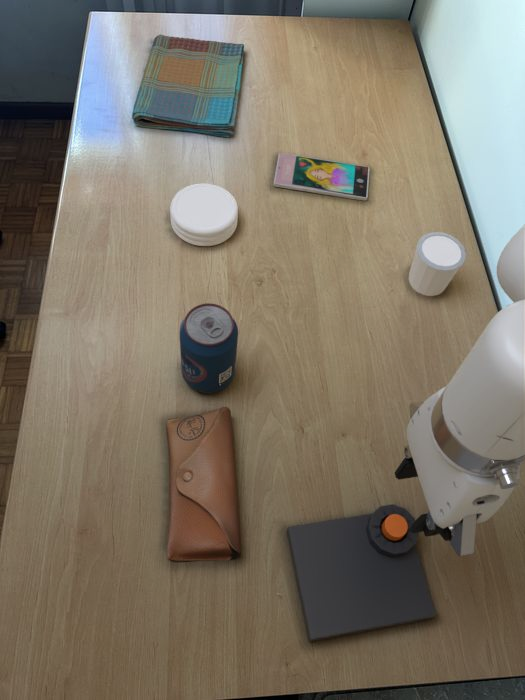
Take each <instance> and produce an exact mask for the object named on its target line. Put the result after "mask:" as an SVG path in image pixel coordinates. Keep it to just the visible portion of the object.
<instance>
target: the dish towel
mask: <svg viewBox="0 0 525 700" xmlns="http://www.w3.org/2000/svg"><path fill="white" fill-rule="evenodd" d="M244 52H245V45H244V44H243V43H233V42H223V41H216V40H215V41H214V40H204V39H203V40H202V39H196V38H188V37H187V38H186V37H178V36H170V35H164V34H158V35H156V36H155V37H154V40H153V42H152V45H151V49H150V52H149V54H148V57H147V58H148V59H147V62H146V65H145V67H144V70H143V75H142V78H141V82H140V85H139V89H138V91H137V94H136V97H135V101H134V104H133V108H132V113H131V119H132V121H133V123H134V124H135V125H136V126H139V127H141V128H147V129H148V128H149V129H159V130H176V131H186V132H192V133H199V134H204V135H208V136H209V135H210V136H215V137H223V138H230V137H231V136H234V133H235V126H236V122H237V114H238V107H239V100H240V93H241V85H242V84H241V83H242V74H243V73H242V72H243V63H244Z"/></svg>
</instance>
